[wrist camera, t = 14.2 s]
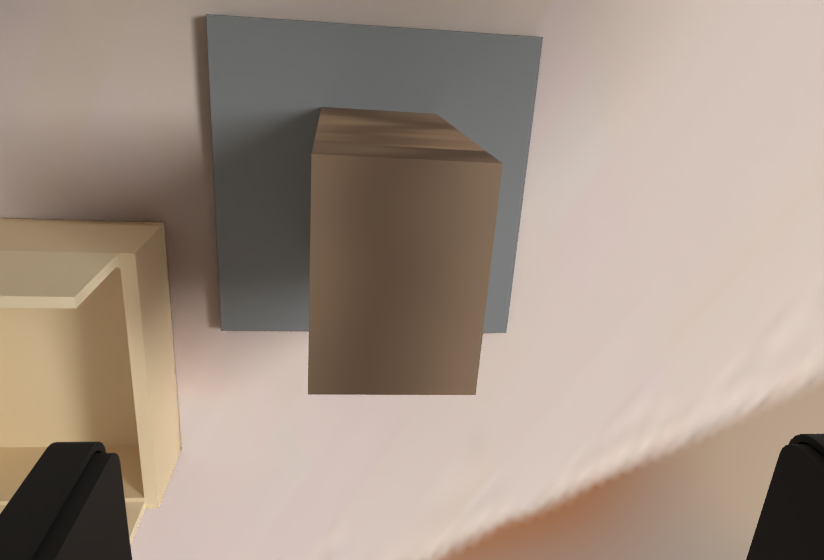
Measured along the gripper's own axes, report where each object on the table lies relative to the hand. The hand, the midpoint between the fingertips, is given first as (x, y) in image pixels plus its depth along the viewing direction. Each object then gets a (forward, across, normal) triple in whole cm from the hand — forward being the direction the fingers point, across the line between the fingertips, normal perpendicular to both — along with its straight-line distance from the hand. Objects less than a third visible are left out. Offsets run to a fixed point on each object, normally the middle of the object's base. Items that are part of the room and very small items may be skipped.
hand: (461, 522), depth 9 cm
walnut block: (+21, 0, 0) cm, 21 cm away
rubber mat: (+22, 0, 0) cm, 22 cm away
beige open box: (+22, +14, +8) cm, 27 cm away
